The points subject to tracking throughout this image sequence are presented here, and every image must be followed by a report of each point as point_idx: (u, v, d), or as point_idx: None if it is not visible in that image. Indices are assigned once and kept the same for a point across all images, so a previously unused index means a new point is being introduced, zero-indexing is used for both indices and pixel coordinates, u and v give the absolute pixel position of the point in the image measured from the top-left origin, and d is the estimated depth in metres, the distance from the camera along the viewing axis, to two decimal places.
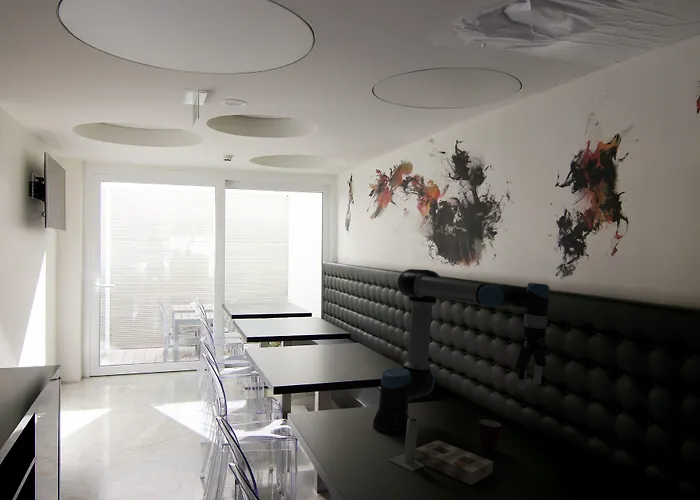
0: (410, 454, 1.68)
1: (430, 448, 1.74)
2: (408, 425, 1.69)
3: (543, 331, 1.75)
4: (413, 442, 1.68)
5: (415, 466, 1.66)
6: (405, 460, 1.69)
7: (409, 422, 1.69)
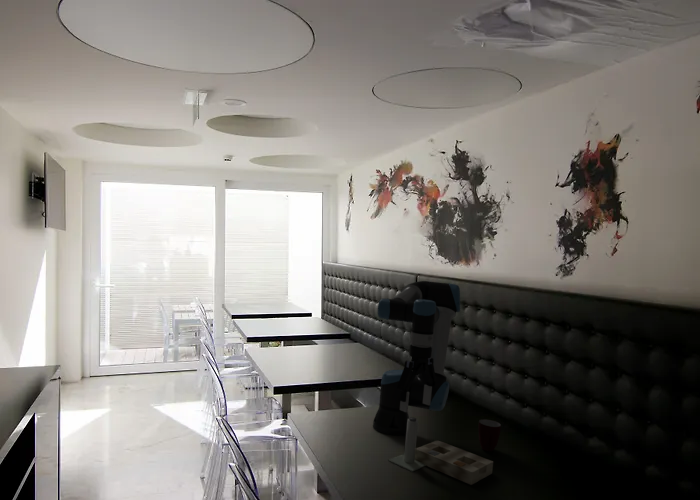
0: (410, 454, 1.68)
1: (430, 448, 1.74)
2: (408, 425, 1.69)
3: (428, 350, 1.67)
4: (413, 442, 1.68)
5: (415, 466, 1.66)
6: (405, 460, 1.69)
7: (409, 422, 1.69)
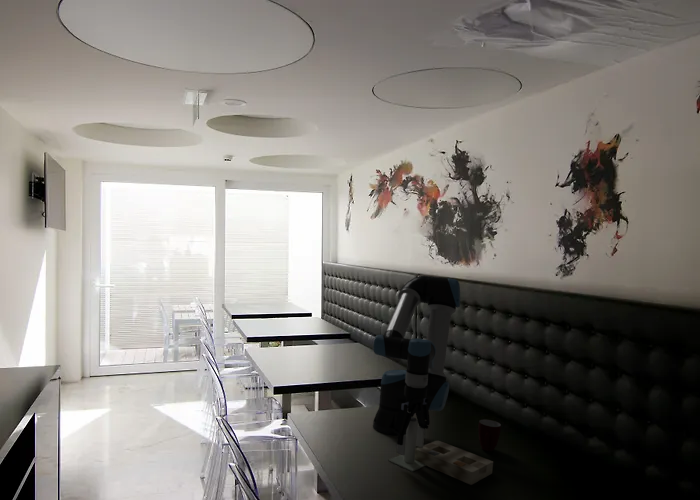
0: (410, 454, 1.68)
1: (430, 448, 1.74)
2: (408, 425, 1.69)
3: (422, 391, 1.67)
4: (412, 442, 1.68)
5: (415, 466, 1.66)
6: (405, 460, 1.69)
7: (409, 422, 1.69)
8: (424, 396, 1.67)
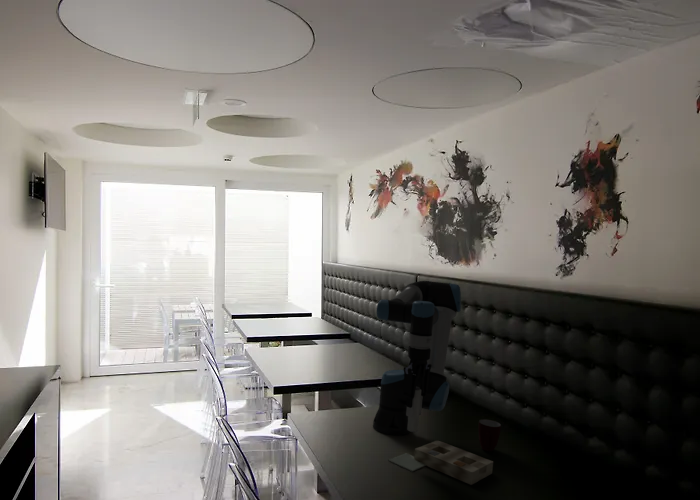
0: (414, 423, 1.68)
1: (430, 448, 1.74)
2: None
3: (426, 352, 1.67)
4: (416, 411, 1.68)
5: (415, 466, 1.66)
6: (408, 429, 1.69)
7: None
8: (428, 357, 1.67)
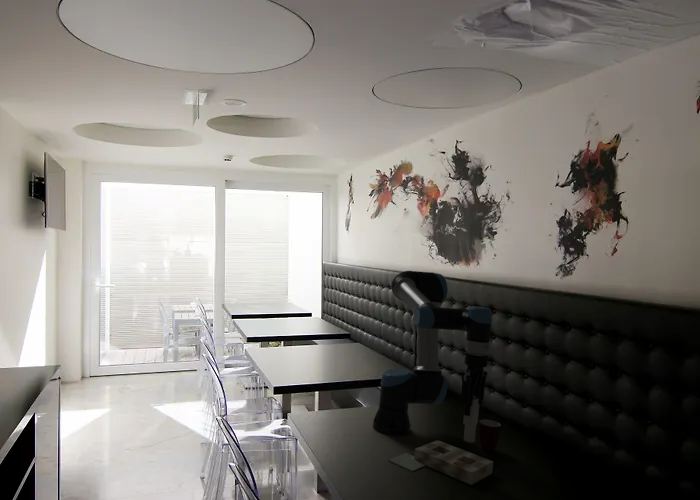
0: (471, 433, 1.64)
1: (430, 448, 1.74)
2: None
3: (484, 359, 1.63)
4: (473, 420, 1.64)
5: (415, 466, 1.66)
6: (465, 439, 1.65)
7: None
8: (486, 364, 1.64)
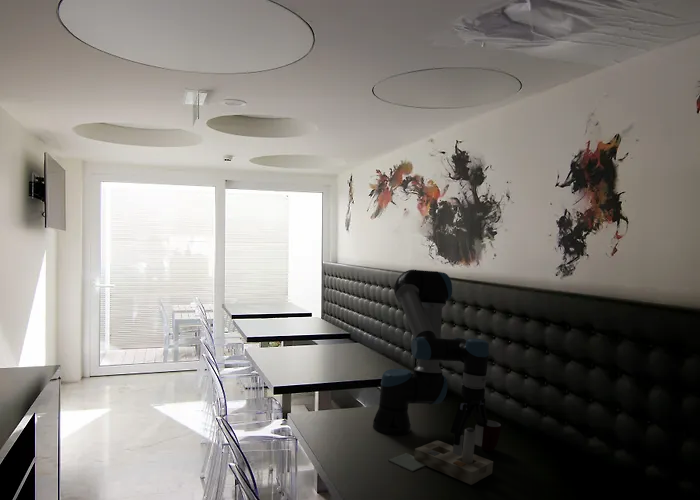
0: None
1: (430, 448, 1.74)
2: (465, 436, 1.65)
3: (481, 392, 1.63)
4: (470, 453, 1.64)
5: (415, 466, 1.66)
6: None
7: (467, 432, 1.65)
8: (482, 397, 1.64)
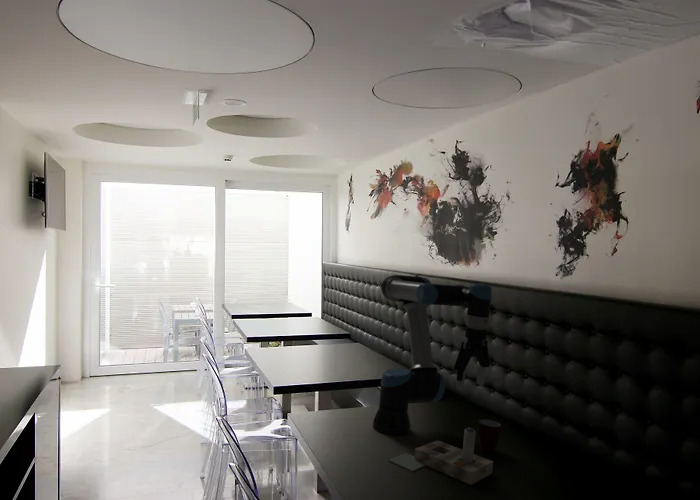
0: None
1: (430, 448, 1.74)
2: (465, 436, 1.65)
3: (483, 332, 1.73)
4: (470, 453, 1.64)
5: (415, 466, 1.66)
6: None
7: (467, 432, 1.65)
8: (485, 337, 1.74)
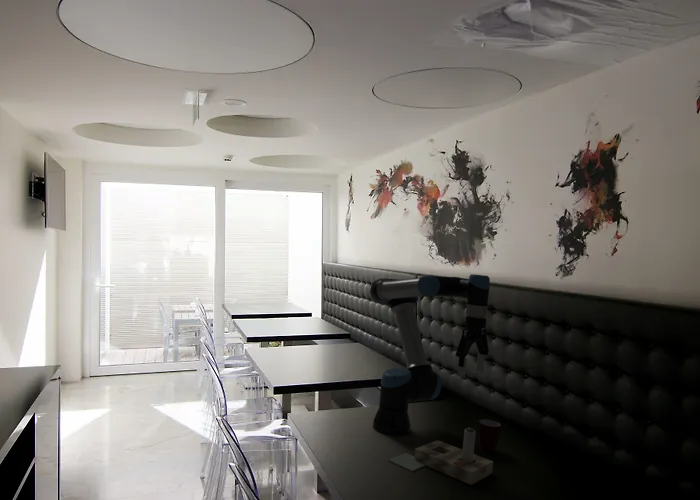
0: None
1: (430, 448, 1.74)
2: (465, 436, 1.65)
3: (483, 320, 1.82)
4: (470, 453, 1.64)
5: (415, 466, 1.66)
6: None
7: (466, 432, 1.65)
8: (484, 325, 1.82)
